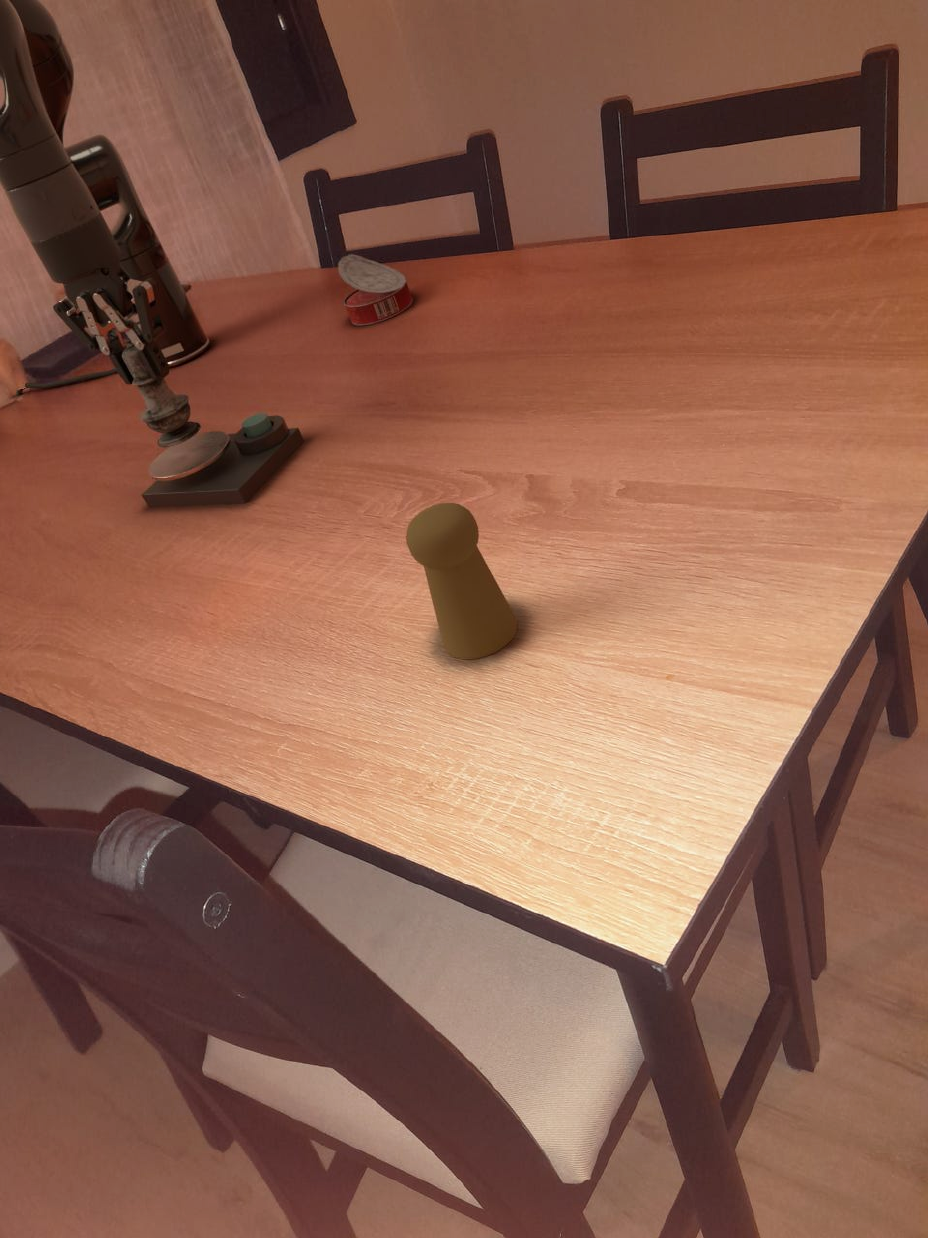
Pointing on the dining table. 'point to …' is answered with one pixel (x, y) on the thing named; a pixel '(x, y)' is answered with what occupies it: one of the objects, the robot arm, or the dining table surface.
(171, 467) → the scale pan
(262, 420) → the tare button
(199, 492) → the scale
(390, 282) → the canned food
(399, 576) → the dining table surface
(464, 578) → the pawn piece
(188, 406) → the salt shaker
